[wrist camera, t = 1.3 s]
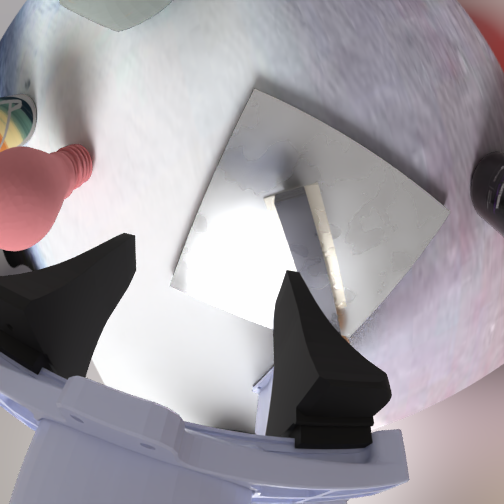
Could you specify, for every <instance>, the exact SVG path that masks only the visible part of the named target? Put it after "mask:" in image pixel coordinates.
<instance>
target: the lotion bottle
mask: <svg viewBox="0 0 504 504" xmlns="http://www.w3.org/2000/svg"><path fill="white" fill-rule="evenodd" d="M35 126H36V108H35V104H34V102H33V100H32V99H31V98H30V97H29V96H28V95H25V94H18V95H12V96H6V97H1V98H0V152H2V151H4V150H6V149H9V148H12V147H18V146H22V145H24V144H26V143H27V142H28V141H29V140H30V138H31V137H32V135H33V133H34V130H35Z"/></svg>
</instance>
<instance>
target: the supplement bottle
mask: <svg viewBox="0 0 504 504" xmlns="http://www.w3.org/2000/svg"><path fill="white" fill-rule="evenodd" d="M471 197H472V202H473V206H474V208H475V210H476V212H477V213H478V214H479V216H480V217H481V218H483V219H484V220H485V221H486V222H487V223H488V224H489V225H491V226H492V227H493V228H494V229H495V230H496V231H497V232H498V233H500V234H501V235H502V236H503V237H504V153H502V152H492V153H490V154H488V155H486V156H485V157H484V158H483V159H482V160H481V161H480V163H479V164H478V166H477V167H476V170H475V172H474V175H473V178H472V184H471Z"/></svg>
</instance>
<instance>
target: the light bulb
mask: <svg viewBox="0 0 504 504" xmlns="http://www.w3.org/2000/svg"><path fill="white" fill-rule="evenodd" d="M91 173H92V160H91V156H90V154H89V152H88V151H87V149H86V148H85V147H83V146H82V145H79V144H72V145H69V146H66V147H63V148H61V149H59V150H58V151H57V152H53V153H50V154H48V153H46V152H43V151H41V150H37V149H34V148H30V147H22V146H18V147H12V148H9V149H6V150H4V151H2V152H0V249H3V250H7V251H19V250H23V249H27V248H29V247H31V246H33V245H35V244H36V243H38V242H39V241H40V240H41V239H42V238H43V237H45V235H46V234H47V233H48V232H49V230H50V229H51V227H52V225H53V224H54V222H55V220H56V217H57V215H58V213H59V211H60V209H61V206H62V204H63V201H64V199H66V198H67V197H69V196H70V194H71V193H72V191H73V190H74V189H76V188H78V187H80V186H81V185H82V184H83V183H84V182H86V181H88V179H89V178H90V176H91Z"/></svg>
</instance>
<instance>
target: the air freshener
mask: <svg viewBox="0 0 504 504" xmlns="http://www.w3.org/2000/svg"><path fill="white" fill-rule="evenodd" d="M59 1H60V4H61V5H62V6H64V7H65V8H67V9H69V10H71V11H73V12H75V13H77V14H79V15H81V16H83V17H85V18H87V19H89V20H91V21H93V22H95V23H97V24H100V25H102V26H104V27H106V28H109V29H111V30H114V31H118V32H119V31H123V30H126V29H129V28H131V27H134V26H136V25H138V24H141V23H142V22H144V21H146V20H148V19H150V18H151V17H153V16H154V15H156V14H157V13H159V12H160V11H162V10H163V9H164V8H165V7H166V6H167V5H169V4H170V3H171V2H172V1H173V0H59Z"/></svg>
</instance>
